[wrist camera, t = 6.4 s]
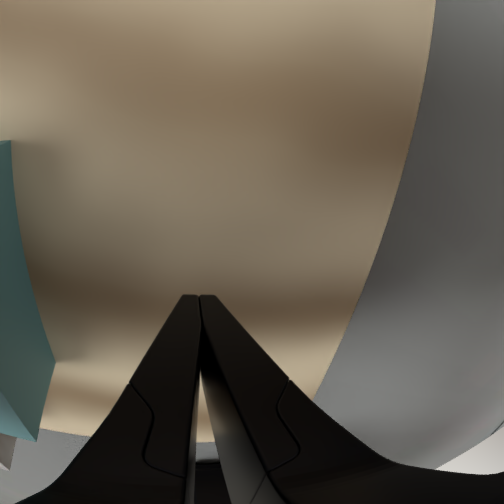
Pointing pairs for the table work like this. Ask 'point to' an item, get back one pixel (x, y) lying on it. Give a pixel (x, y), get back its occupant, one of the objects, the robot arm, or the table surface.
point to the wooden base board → (202, 173)
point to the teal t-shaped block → (19, 324)
